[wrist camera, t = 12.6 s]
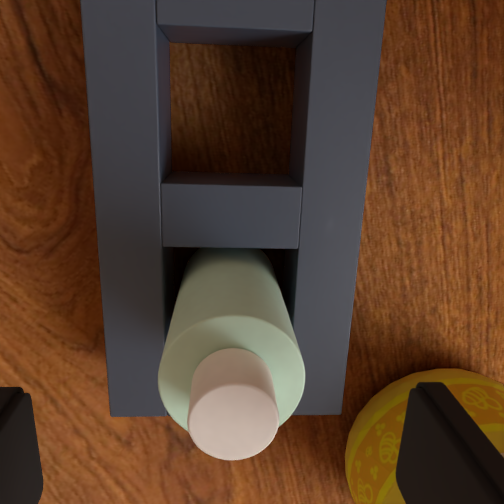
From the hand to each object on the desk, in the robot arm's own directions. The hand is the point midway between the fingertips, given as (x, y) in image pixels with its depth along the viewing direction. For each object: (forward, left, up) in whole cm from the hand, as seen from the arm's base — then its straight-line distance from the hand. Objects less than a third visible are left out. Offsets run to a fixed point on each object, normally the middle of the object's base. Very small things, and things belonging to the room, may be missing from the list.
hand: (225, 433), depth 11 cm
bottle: (0, -1, -12) cm, 12 cm away
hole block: (0, +4, -12) cm, 13 cm away
